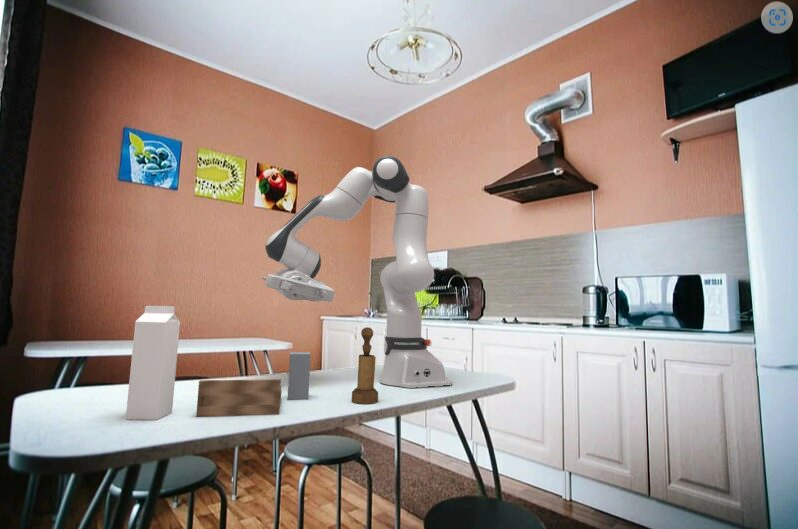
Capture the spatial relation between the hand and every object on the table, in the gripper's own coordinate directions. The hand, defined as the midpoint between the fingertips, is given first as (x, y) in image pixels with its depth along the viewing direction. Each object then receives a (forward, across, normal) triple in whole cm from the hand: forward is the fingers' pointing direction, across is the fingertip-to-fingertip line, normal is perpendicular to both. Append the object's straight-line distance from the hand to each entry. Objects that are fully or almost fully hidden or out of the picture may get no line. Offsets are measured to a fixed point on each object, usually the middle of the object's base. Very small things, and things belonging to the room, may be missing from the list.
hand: (307, 291), depth 113 cm
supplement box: (+13, +19, +23) cm, 32 cm away
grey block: (+12, +1, +26) cm, 28 cm away
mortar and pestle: (+22, +15, +22) cm, 34 cm away
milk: (+18, -30, +31) cm, 46 cm away
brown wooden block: (+16, -12, +27) cm, 34 cm away
